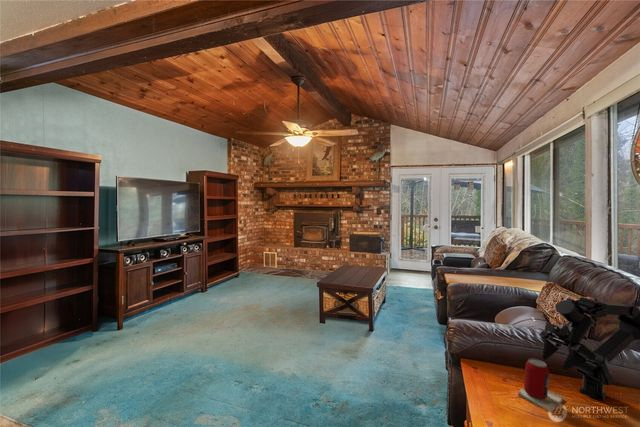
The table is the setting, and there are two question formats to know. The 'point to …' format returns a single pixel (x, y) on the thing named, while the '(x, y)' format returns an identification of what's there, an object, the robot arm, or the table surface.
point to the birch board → (546, 403)
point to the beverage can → (536, 378)
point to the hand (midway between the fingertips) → (553, 363)
